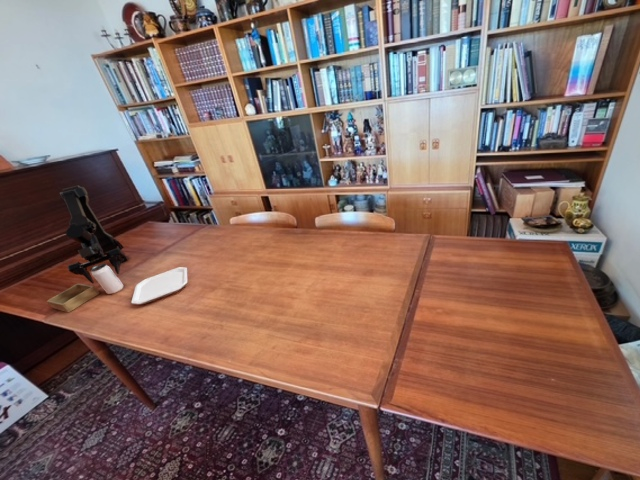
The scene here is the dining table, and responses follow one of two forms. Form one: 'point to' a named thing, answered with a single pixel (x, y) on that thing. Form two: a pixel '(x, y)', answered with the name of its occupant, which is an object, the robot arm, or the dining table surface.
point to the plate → (160, 286)
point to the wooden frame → (73, 297)
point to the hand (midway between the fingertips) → (105, 278)
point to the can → (107, 278)
